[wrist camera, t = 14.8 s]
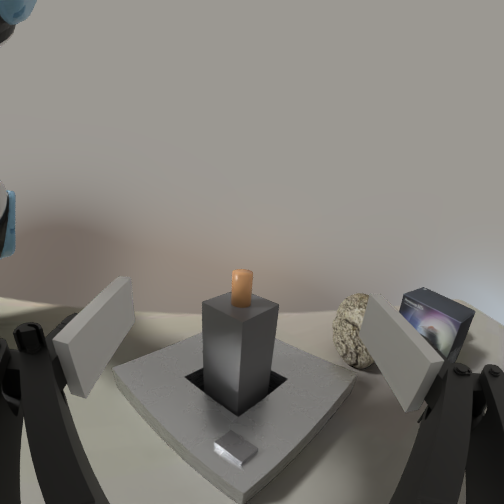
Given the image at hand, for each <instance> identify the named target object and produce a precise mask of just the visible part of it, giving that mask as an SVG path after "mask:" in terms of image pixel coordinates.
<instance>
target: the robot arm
mask: <svg viewBox="0 0 504 504" xmlns="http://www.w3.org/2000/svg"><path fill="white" fill-rule="evenodd" d="M36 1H37V0H0V47H1V46H2V45H3V44H5V43H6V42H7V41H8V40H9V39H10V38H11V36H12V35H13V33H14V29H15V25H16V24H18V23H19V22H22V21H24V20H26V19H27V18H28V17H29V15H30V14H31V12H32V10H33V8H34V5H35V3H36ZM14 251H15V193H14V192H13V191H9V190H6V188H5V186H4V184H3V183H2V181H1V180H0V259H2V258H4V257H8V256H11V255H12V254H13V253H14ZM134 323H135V315H134V305H133V295H132V282H131V277H124V276H118V277H117V278H116V279H115V280H114V281H113V282H112V283H110V284H109V285H108V286H107V287H106V288H105V289H104V290H103V291H102V292H101V293H100V294H99V295H97V296H96V297H95V298H94V299H93V300H92V301H91V302H90V303H89V304H88V305H87V306H86V307H85V308H84V309H83V310H81V311H80V312H79V313H74V314H72V315H70V316H68V317H66V318H65V319H64V320H63V321H62V322H61V324H59V325H58V326H57V327H56V328H55V329H54V330H53V331H52V332H51V333H50V334H49V335H48V336H47V337H46V338H45V337H44V333H43V330H42V327H41V325H39V324H38V323H34V322H30V323H24V324H21V325H20V326H18V327H17V328H16V329H15V330H14V332H13V335H14V338H15V341H16V344H17V347H18V349H19V350H14V349H9V347H8V345H7V342H6V340H4V339H3V338H0V504H21V500H20V449H21V435H22V426H23V417H24V420H25V427H26V432H27V438H28V443H29V448H30V452H31V457H32V461H33V465H34V469H35V472H36V476H37V479H38V482H39V486H40V489H41V492H42V495H43V498H44V501H45V503H46V504H110V503H109V502H108V500H107V498H106V496H105V494H104V492H103V490H102V488H101V486H100V484H99V482H98V480H97V478H96V476H95V474H94V472H93V470H92V468H91V465H90V463H89V461H88V459H87V456H86V454H85V451H84V449H83V446H82V444H81V441H80V439H79V436H78V433H77V430H76V428H75V425H74V422H73V419H72V416H71V413H70V409H69V406H68V403H67V399H66V396H65V393H64V391H63V389H64V387H65V386H66V384H67V385H68V387H69V390H70V392H71V394H73V395H76V396H79V397H82V398H87V396H88V394H89V393H90V391H91V389H92V388H93V386H94V384H95V383H96V381H97V380H98V378H99V376H100V375H101V373H102V372H103V370H104V368H105V367H106V365H107V364H108V362H109V361H110V359H111V357H112V356H113V354H114V353H115V351H116V350H117V348H118V347H119V345H120V344H121V342H122V341H123V339H124V338H125V336H126V335H127V333H128V332H129V330H130V329H131V327H132V326H133V324H134ZM359 337H360V339H361V340H362V342H363V344H364V345H365V347H366V348H367V350H368V352H369V353H370V355H371V356H372V358H373V360H374V361H375V363H376V364H377V366H378V368H379V369H380V371H381V373H382V374H383V376H384V378H385V379H386V381H387V383H388V384H389V386H390V388H391V389H392V391H393V393H394V394H395V396H396V398H397V400H398V401H399V403H400V405H401V406H402V408H403V410H404V412H405V413H406V412H411V411H415V410H419V408H420V406H421V405H422V403H423V401H424V400H425V401H426V403H427V404H428V406H427V407H426V409H425V411H424V412H423V414H422V416H421V417H420V419H419V420H418V422H417V423H420V421H421V420H422V421H421V424H420V428H419V431H418V434H417V437H416V440H415V443H414V446H413V449H412V451H411V454H410V457H409V459H408V462H407V465H406V467H405V470H404V472H403V474H402V477H401V479H400V481H399V484H398V486H397V488H396V490H395V492H394V495H393V497H392V499H391V501H390V503H389V504H457V502H458V499H459V495H460V491H461V486H462V482H463V477H464V472H465V473H466V504H504V372H503V371H502V370H501V369H500V368H499V367H498V366H496V365H492V364H487V365H485V366H484V368H483V370H482V372H481V374H478V373H472V371H471V370H470V368H468V367H467V366H466V365H463V364H461V363H451V362H450V361H449V360H448V359H447V358H446V357H445V356H444V355H443V354H442V352H441V351H440V350H438V348H437V347H436V346H435V345H434V344H433V343H432V342H431V341H430V340H429V339H428V338H427V337H425V336H424V335H422V334H419V332H418V331H417V330H416V329H415V328H414V327H413V326H412V325H411V324H410V323H409V322H408V321H407V320H406V319H405V318H404V317H403V316H402V315H401V314H400V313H399V312H398V311H397V310H396V309H395V308H394V307H393V306H392V305H391V304H390V303H389V302H388V301H387V300H386V299H385V298H384V297H383V296H382V295H381V294H370V295H369V299H368V303H367V307H366V311H365V314H364V318H363V322H362V325H361V329H360V332H359ZM486 407H487V411H486V414H485V413H484V410H485V409H486Z"/></svg>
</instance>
